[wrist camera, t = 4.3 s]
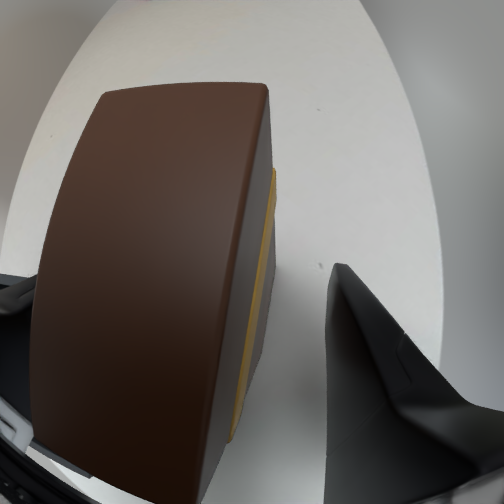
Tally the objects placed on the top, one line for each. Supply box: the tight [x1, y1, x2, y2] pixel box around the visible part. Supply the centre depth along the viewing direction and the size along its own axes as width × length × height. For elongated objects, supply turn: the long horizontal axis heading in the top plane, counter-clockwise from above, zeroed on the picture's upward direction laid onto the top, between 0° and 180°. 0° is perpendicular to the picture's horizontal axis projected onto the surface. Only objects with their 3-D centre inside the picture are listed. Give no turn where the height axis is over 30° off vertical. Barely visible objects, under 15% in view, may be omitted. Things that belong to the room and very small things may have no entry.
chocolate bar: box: [29, 82, 276, 504], centre depth 9 cm, size 5×2×13 cm, turn 171°
